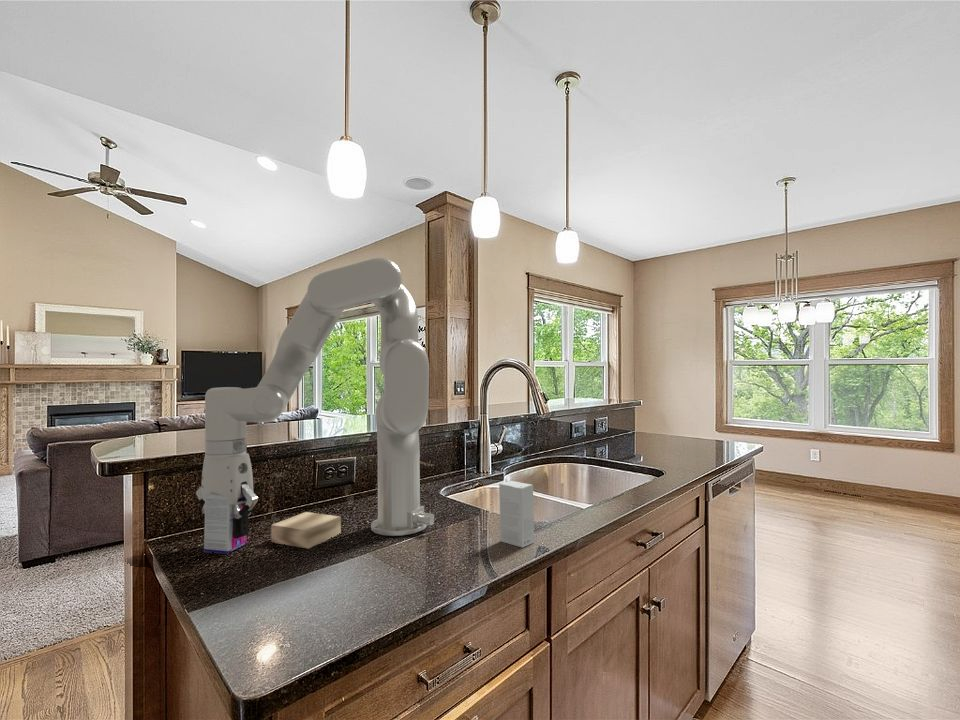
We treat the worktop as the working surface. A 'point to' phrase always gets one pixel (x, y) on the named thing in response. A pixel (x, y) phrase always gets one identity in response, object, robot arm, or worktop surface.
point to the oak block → (305, 529)
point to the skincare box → (516, 513)
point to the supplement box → (220, 525)
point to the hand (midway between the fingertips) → (226, 533)
